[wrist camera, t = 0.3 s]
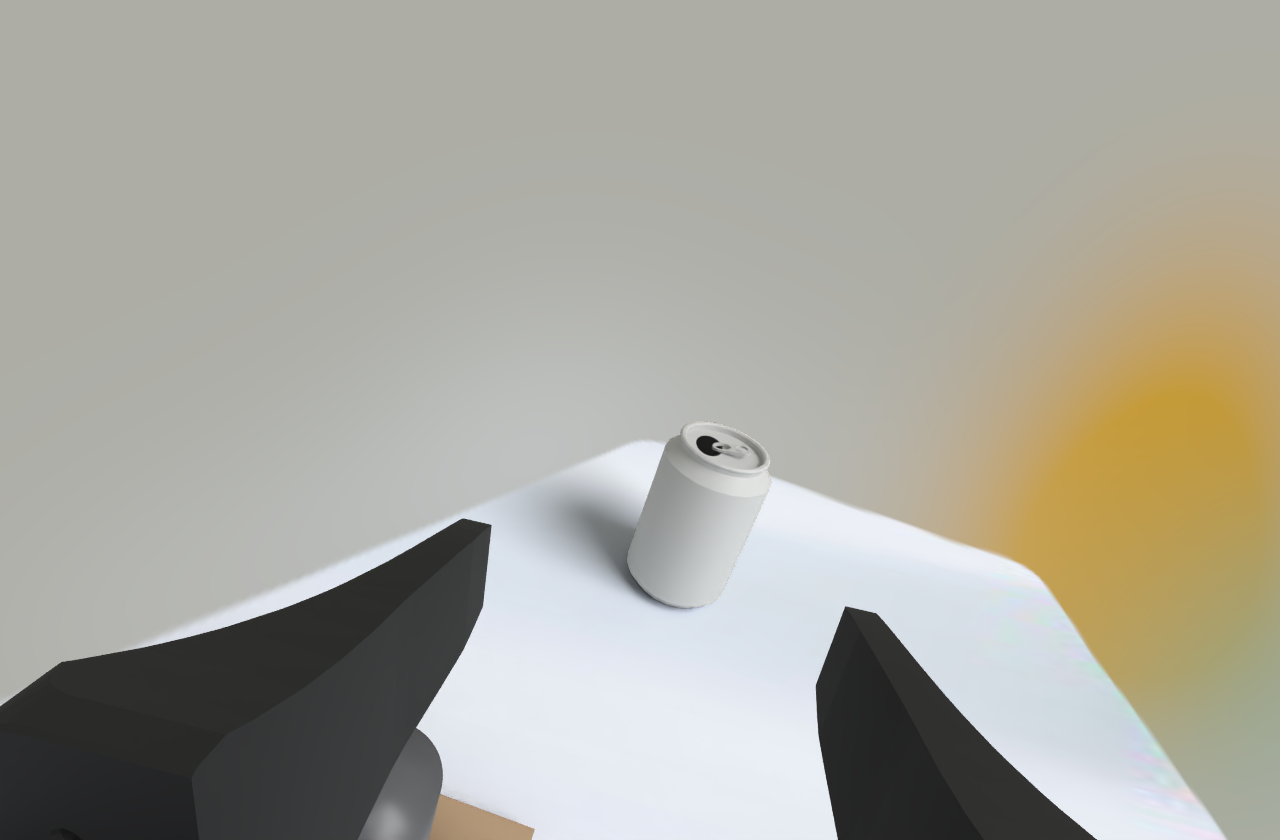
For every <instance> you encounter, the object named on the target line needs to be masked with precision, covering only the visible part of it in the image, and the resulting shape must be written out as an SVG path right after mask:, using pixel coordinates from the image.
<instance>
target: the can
mask: <svg viewBox="0 0 1280 840" xmlns="http://www.w3.org/2000/svg"><path fill="white" fill-rule="evenodd" d="M769 464H770V458H769V455H768V453H767V452H766V451H765V449H764V448H763V447H762V445H760V444H759V443H758V442H757V441H755V440H754V439H753V438H751V437H749V436H748V435H746V434H745V433H743V432H741V431H739V430H736V429H734V428H731V427H729V426H726V425H722V424H719V423H714V422H707V421H699V422H692V423H689V424H686V425H685V426H684V427H683V428H682V429H681V435H678V436H676V437H674V438H671V439H670V440H669V442H668V443H667V444H666V446H665V449H664V451H663V454H662V457H661V460H660V463H659V465H658V468H657V471H656V474H655V477H654V480H653V482H652V485H651V488H650V491H649V494H648V497H647V499H646V502H645V505H644V508H643V511H642V513H641V516H640V519H639V522H638V525H637V528H636V530H635V533H634V536H633V539H632V542H631V545H630V547H629V550H628V555H627V564H628V567H629V569H630V572H631V574H632V576H633V577H634V578H635V579H636V581H637V582H638V584H639V585H640V586H641V587H642V589H643V590H644V591H645V592H646V593H648V594H649V595H650V596H651V597H653V598H654V599H656V600H658V601H660V602H662V603H664V604H666V605H670V606H674V607H678V608H693V607H702V606H705V605H709V604H712V603H714V602H715V601H716V600H717V599H718V598H719V597H721V595H722V592H723V590H724V588H725V586H726V584H727V581H728V579H729V577H730V575H731V573H732V570H733V568H734V566H735V564H736V562H737V559H738V557H739V555H740V553H741V551H742V548H743V546H744V544H745V542H746V539H747V537H748V535H749V533H750V531H751V528H752V526H753V524H754V522H755V520H756V517H757V515H758V513H759V511H760V509H761V506H762V504H763V502H764V500H765V498H766V495H767V493H768V491H769V488H770V485H771V479H770V476H769V473H768V470H767V469H768V467H769Z"/></svg>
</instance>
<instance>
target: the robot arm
mask: <svg viewBox="0 0 1280 840" xmlns="http://www.w3.org/2000/svg"><path fill="white" fill-rule="evenodd" d="M490 535H491V525H489V524H485V523H481V522H476V521H472V520H468V519H461V520H459V521H457V522H455V523H454V524H452V525H450V526H448V527H447V528H445V529H443V530H442V531H440V532H438V533H436V534H435V535H433V536H431V537H430V538H428V539H426V540H425V541H423V542H421V543H419V544H418V545H416V546H414V547H413V548H411V549H409V550H407V551H406V552H404V553H402V554H400V555H398V556H397V557H395V558H393V559H391V560H389V561H388V562H386V563H384V564H382V565H380V566H378V567H376V568H374V569H372V570H370V571H368V572H366V573H364V574H362V575H360V576H358V577H356V578H354V579H352V580H350V581H348V582H346V583H344V584H342V585H339V586H337V587H335V588H333V589H331V590H328V591H326V592H324V593H321V594H319V595H317V596H314V597H311V598H309V599H306V600H304V601H301V602H299V603H296V604H294V605H291V606H289V607H286V608H283V609H280V610H277V611H274V612H271V613H268V614H265V615H262V616H259V617H256V618H253V619H250V620H247V621H244V622H240V623H237V624H234V625H231V626H228V627H225V628H221V629H218V630H214V631H210V632H206V633H203V634H199V635H195V636H191V637H187V638H183V639H179V640H175V641H170V642H166V643H162V644H158V645H153V646H148V647H144V648H139V649H133V650H128V651H122V652H117V653H111V654H106V655H101V656H95V657H90V658H84V659H79V660H73V661H66V662H61V663H60V664H58V665H57V666H55V667H54V668H52V669H51V670H50V671H48V672H47V673H46V674H44V675H43V676H41V677H40V678H39V679H37V680H36V681H35V682H33V683H32V684H30V685H29V686H28V687H26V688H25V689H24V690H22V691H21V692H19V693H18V694H17V695H15V696H14V697H13V698H11V699H10V700H8V701H7V702H6V703H4V704H3V705H2V706H0V840H358V838H359V836H360V834H361V832H362V829H363V827H364V825H365V823H366V821H367V819H368V817H369V815H370V813H371V811H372V809H373V807H374V805H375V802H376V800H377V798H378V796H379V794H380V792H381V790H382V788H383V786H384V784H385V782H386V780H387V778H388V776H389V774H390V772H391V770H392V768H393V766H394V764H395V762H396V761H397V759H398V757H399V755H400V754H401V752H402V750H403V748H404V746H405V745H406V743H407V741H408V740H409V738H410V737H411V735H412V733H413V732H414V730H415V728H416V727H417V725H418V724H419V722H420V720H421V719H422V717H423V715H424V714H425V712H426V711H427V709H428V707H429V706H430V704H431V702H432V701H433V699H434V697H435V696H436V694H437V693H438V691H439V689H440V688H441V686H442V684H443V683H444V681H445V680H446V678H447V676H448V675H449V673H450V671H451V670H452V668H453V666H454V665H455V663H456V661H457V660H458V658H459V656H460V655H461V653H462V651H463V650H464V647H465V645H466V643H467V641H468V639H469V637H470V634H471V632H472V630H473V628H474V626H475V623H476V621H477V619H478V616H479V614H480V612H481V610H482V607H483V601H484V591H485V582H486V572H487V563H488V554H489V544H490ZM816 701H817V720H818V734H819V741H820V747H821V752H822V758H823V763H824V769H825V774H826V779H827V785H828V790H829V795H830V800H831V806H832V811H833V816H834V821H835V827H836V832H837V837H838V840H1097V839H1095V838H1094V837H1093V836H1092V835H1091V834H1089V833H1088V832H1087V831H1086V830H1085V829H1083V828H1082V827H1081V826H1080V825H1078V824H1077V823H1076V822H1075V821H1074V820H1072V819H1071V818H1070V817H1069V816H1068V815H1066V814H1065V813H1064V812H1063V811H1062V810H1060V809H1059V808H1058V807H1057V806H1056V805H1055V804H1054V803H1052V802H1051V801H1050V800H1049V799H1048V798H1047V797H1046V796H1044V795H1043V794H1042V793H1041V792H1040V791H1039V790H1038V789H1037V788H1036V787H1034V786H1033V785H1032V784H1031V783H1030V782H1029V781H1028V780H1027V779H1026V778H1025V777H1024V776H1023V775H1022V774H1021V773H1020V772H1018V771H1017V770H1016V769H1015V768H1014V767H1013V766H1012V765H1011V764H1010V763H1009V762H1008V761H1007V760H1006V759H1005V758H1004V757H1003V756H1002V755H1001V754H1000V753H999V752H998V751H997V750H996V749H995V748H994V747H993V746H992V745H991V744H990V743H989V742H988V741H987V740H986V739H985V738H984V737H983V736H982V735H981V734H980V733H979V732H978V731H977V730H976V729H975V727H974V726H973V725H972V724H971V723H970V722H969V721H968V720H967V719H966V718H965V717H964V716H963V715H962V714H961V712H960V711H959V710H958V709H957V708H956V707H955V706H954V705H953V703H952V702H951V701H950V700H949V699H948V698H947V697H946V696H945V694H944V693H943V692H942V691H941V690H940V689H939V687H938V686H937V685H936V684H935V683H934V682H933V680H932V679H931V678H930V677H929V676H928V674H927V673H926V672H925V671H924V670H923V668H922V667H921V666H920V665H919V664H918V662H917V661H916V660H915V659H914V658H913V656H912V655H911V654H910V653H909V651H908V650H907V649H906V648H905V647H904V645H903V644H902V643H901V642H900V640H899V639H898V638H897V637H896V636H895V634H894V633H893V632H892V631H891V629H890V628H889V627H888V626H887V625H886V624H885V622H884V621H883V620H882V619H881V618H880V617H879V616H878V615H877V614H876V613H872V612H868V611H863V610H859V609H855V608H850V607H846V606H845V609H844V611H843V614H842V617H841V619H840V622H839V625H838V627H837V630H836V633H835V635H834V638H833V641H832V643H831V646H830V649H829V651H828V654H827V657H826V659H825V662H824V665H823V667H822V670H821V673H820V675H819V678H818V681H817V684H816Z"/></svg>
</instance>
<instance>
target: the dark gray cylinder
mask: <svg viewBox="0 0 1280 840" xmlns="http://www.w3.org/2000/svg"><path fill="white" fill-rule="evenodd" d="M442 780H443V770H442V764H441V760H440V756H439V754H438V752H437V750H436V748H435V746H434V745H433V743H432V742H431V740H430V739H429V738H428V737H427V736H426V735H425V734H424V733H422V732H421V731H420V730H418V729H417V728H415V730H414V732H413V733H412V735H411V737H410V738H409V740H408V741H407V743H406V745H405V746H404V748H403V750H402V752H401V754H400V755H399V757H398V759H397V761H396V762H395V764H394V766H393V768H392V770H391V772H390V774H389V776H388V778H387V780H386V782H385V784H384V786H383V788H382V790H381V792H380V794H379V796H378V798H377V800H376V802H375V805H374V807H373V809H372V811H371V813H370V815H369V817H368V819H367V821H366V823H365V825H364V827H363V829H362V832H361V834H360V836H359V838H358V840H429V837H430V833H431V829H432V825H433V821H434V816H435V812H436V808H437V804H438V800H439V796H440V792H441V787H442Z"/></svg>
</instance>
